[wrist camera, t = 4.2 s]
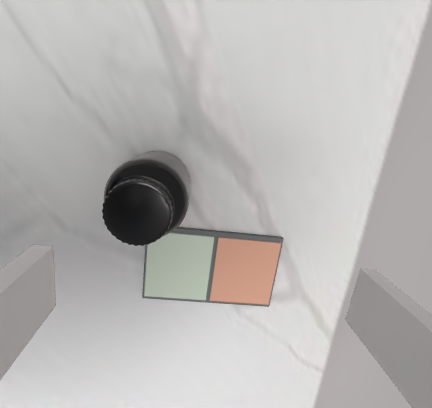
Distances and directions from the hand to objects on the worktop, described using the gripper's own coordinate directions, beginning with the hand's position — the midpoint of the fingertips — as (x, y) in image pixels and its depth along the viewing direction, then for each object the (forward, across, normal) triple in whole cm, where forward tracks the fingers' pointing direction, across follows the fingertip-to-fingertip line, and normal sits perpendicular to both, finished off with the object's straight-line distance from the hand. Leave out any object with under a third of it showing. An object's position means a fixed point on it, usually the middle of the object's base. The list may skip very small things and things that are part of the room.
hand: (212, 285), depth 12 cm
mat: (+20, +2, -10) cm, 22 cm away
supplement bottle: (+20, -4, 0) cm, 21 cm away
